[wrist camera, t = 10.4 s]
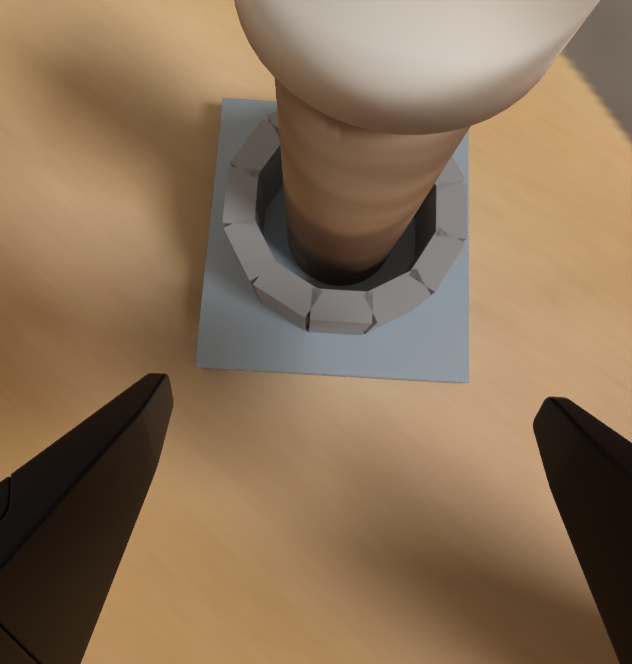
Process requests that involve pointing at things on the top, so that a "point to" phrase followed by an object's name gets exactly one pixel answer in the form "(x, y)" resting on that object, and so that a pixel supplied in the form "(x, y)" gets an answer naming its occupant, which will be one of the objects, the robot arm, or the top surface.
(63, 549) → the robot arm
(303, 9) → the walnut peg
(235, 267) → the collar socket
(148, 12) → the top surface
